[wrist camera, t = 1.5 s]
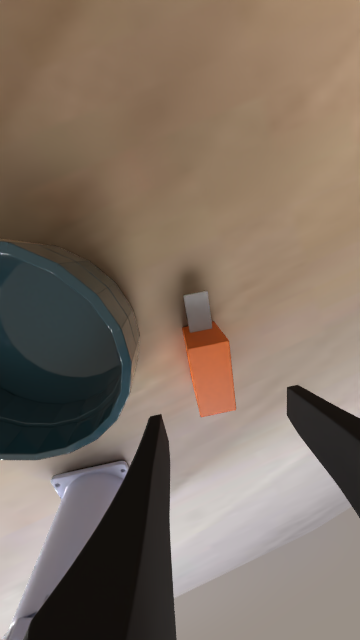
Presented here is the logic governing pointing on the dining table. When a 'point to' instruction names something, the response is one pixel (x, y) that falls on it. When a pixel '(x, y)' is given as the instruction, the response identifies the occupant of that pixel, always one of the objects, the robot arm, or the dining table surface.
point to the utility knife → (208, 358)
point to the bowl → (60, 351)
